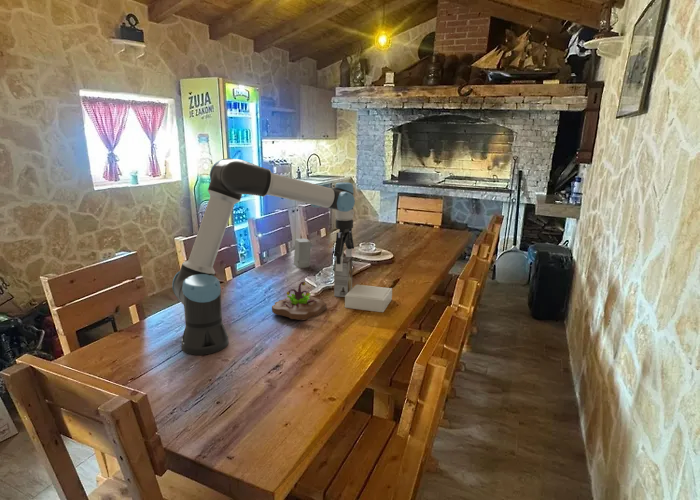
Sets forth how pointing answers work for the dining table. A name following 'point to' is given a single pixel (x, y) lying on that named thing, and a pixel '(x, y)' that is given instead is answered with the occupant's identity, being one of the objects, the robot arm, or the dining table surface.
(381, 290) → the riser
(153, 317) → the dining table surface
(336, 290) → the coffee box
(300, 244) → the skincare box
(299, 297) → the plant
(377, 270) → the dining table surface
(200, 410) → the dining table surface
